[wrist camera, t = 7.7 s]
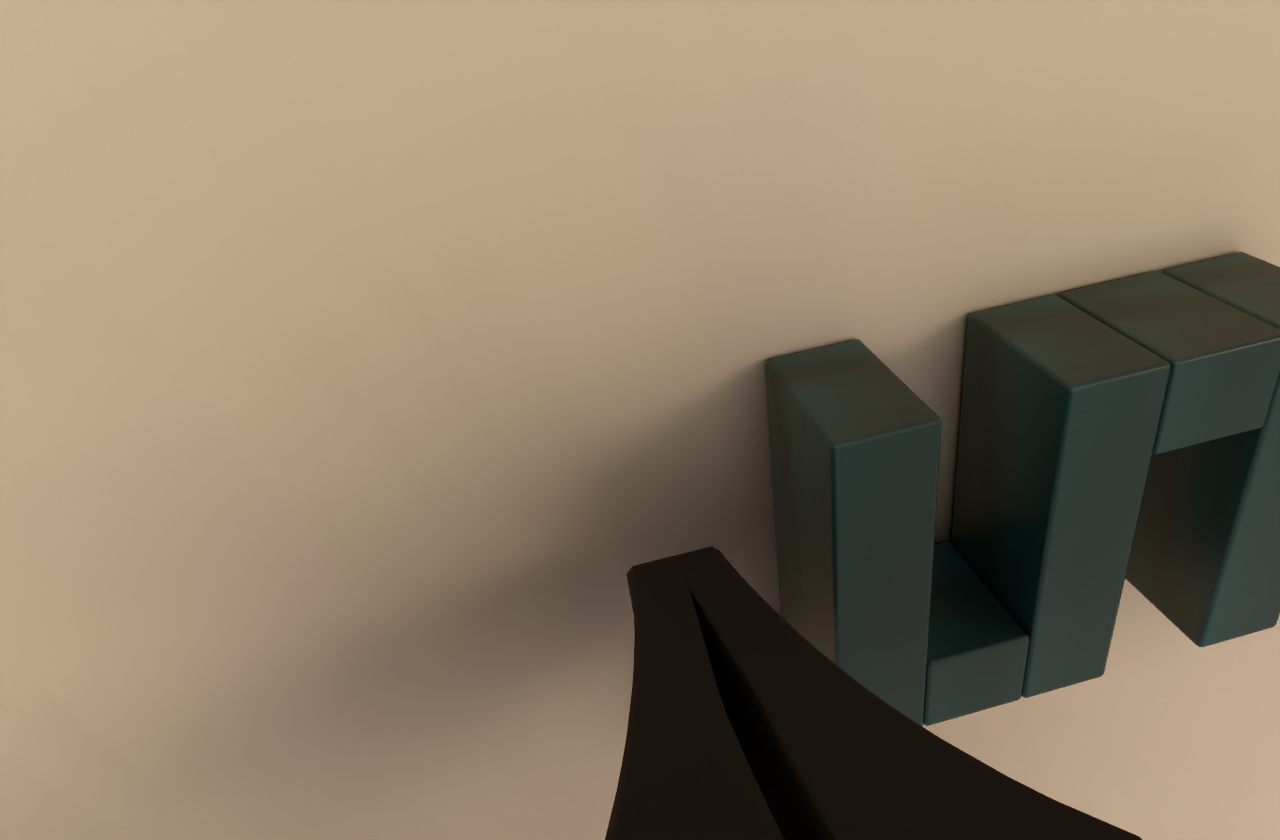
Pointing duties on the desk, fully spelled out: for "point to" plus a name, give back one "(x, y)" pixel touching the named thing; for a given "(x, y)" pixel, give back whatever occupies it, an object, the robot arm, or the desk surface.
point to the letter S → (1037, 488)
